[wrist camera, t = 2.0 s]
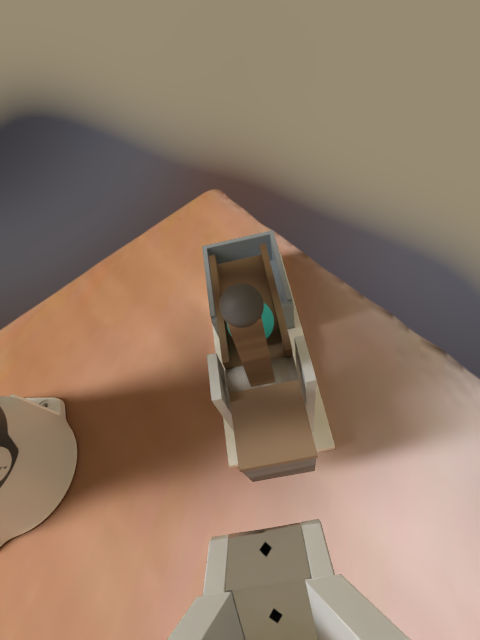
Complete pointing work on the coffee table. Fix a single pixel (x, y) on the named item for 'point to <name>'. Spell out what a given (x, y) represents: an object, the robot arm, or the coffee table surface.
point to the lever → (260, 372)
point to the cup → (247, 249)
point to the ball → (266, 321)
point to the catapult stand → (306, 381)
